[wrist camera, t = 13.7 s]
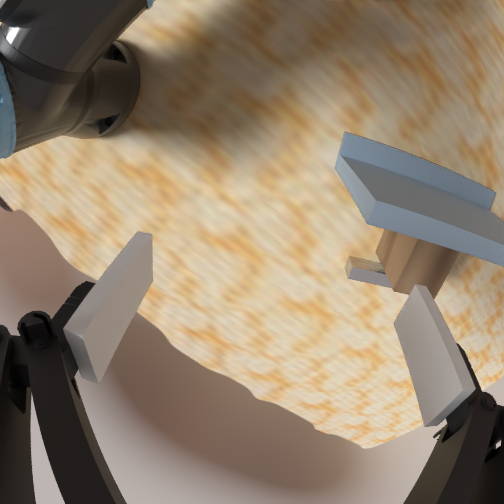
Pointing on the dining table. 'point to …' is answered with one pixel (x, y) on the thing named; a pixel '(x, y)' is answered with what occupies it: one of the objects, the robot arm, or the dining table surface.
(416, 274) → the wooden box
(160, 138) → the dining table surface
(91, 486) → the robot arm
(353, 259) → the cleat rail
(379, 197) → the wall board
